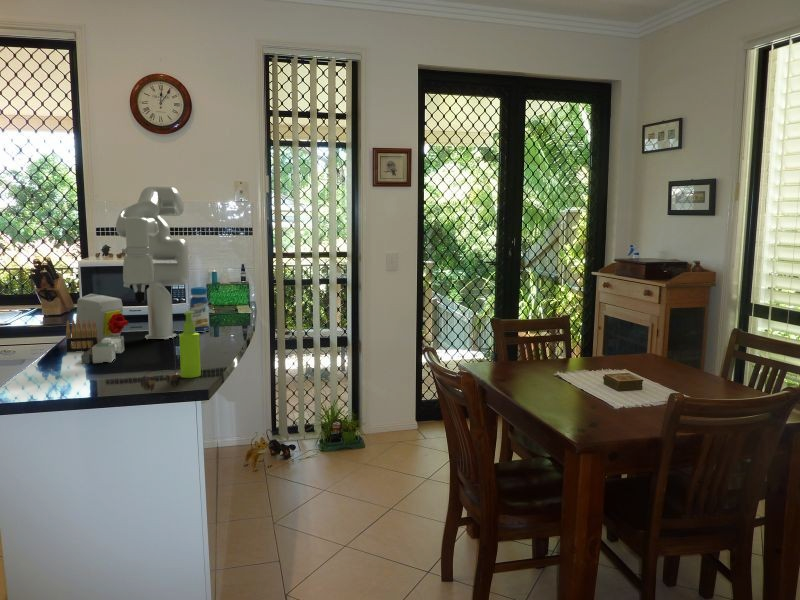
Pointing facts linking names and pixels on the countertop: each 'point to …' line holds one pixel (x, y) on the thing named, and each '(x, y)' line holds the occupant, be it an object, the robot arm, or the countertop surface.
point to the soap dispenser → (189, 349)
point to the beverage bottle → (200, 308)
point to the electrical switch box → (101, 314)
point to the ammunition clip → (80, 336)
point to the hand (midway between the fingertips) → (140, 302)
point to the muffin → (108, 341)
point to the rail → (104, 351)
